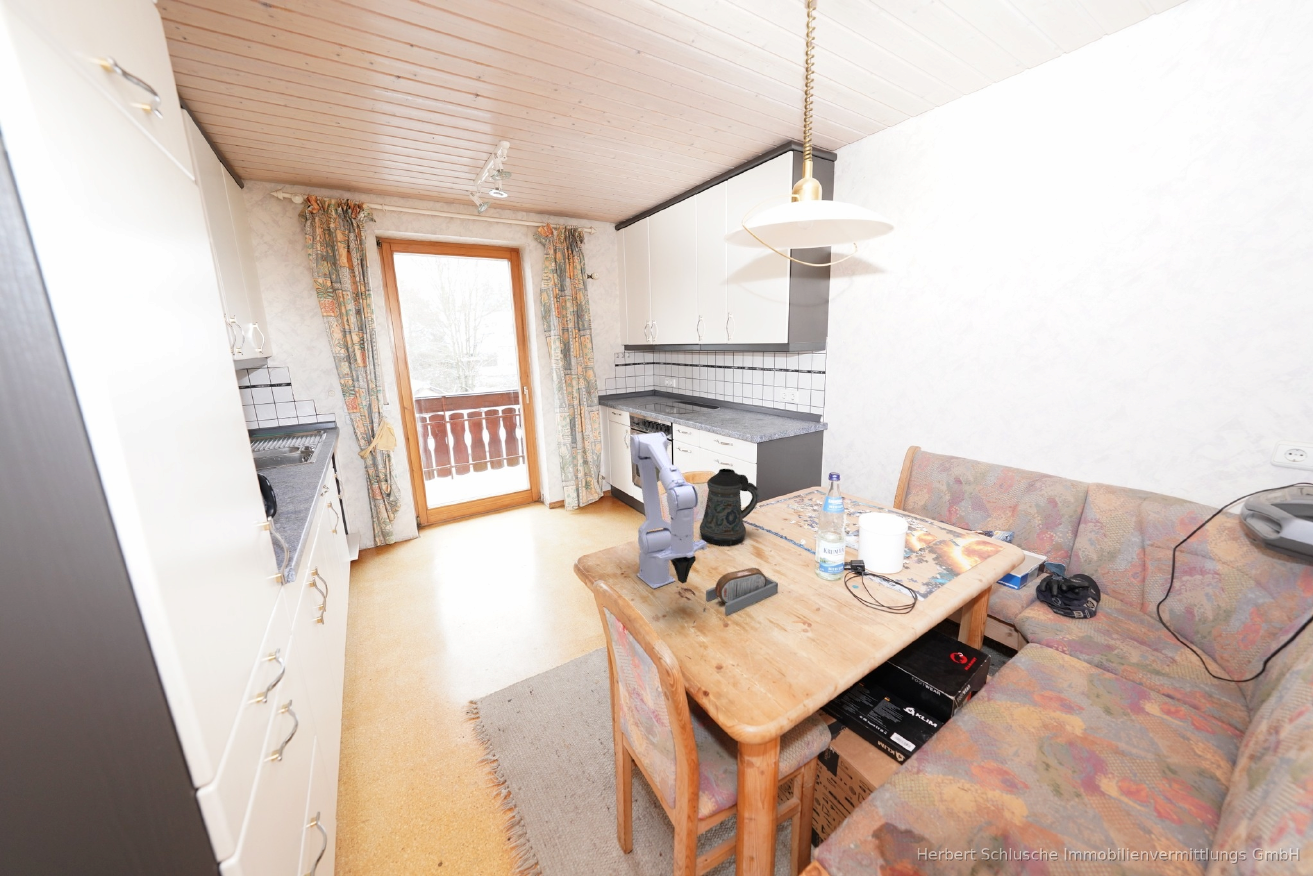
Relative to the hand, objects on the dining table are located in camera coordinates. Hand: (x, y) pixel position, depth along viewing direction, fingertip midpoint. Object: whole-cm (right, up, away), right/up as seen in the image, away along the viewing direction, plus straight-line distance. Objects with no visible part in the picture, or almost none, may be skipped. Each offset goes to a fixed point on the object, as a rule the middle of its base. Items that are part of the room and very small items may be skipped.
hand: (682, 581), depth 118 cm
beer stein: (+19, +1, +47) cm, 51 cm away
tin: (+17, -8, +8) cm, 20 cm away
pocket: (+17, -7, +9) cm, 21 cm away
